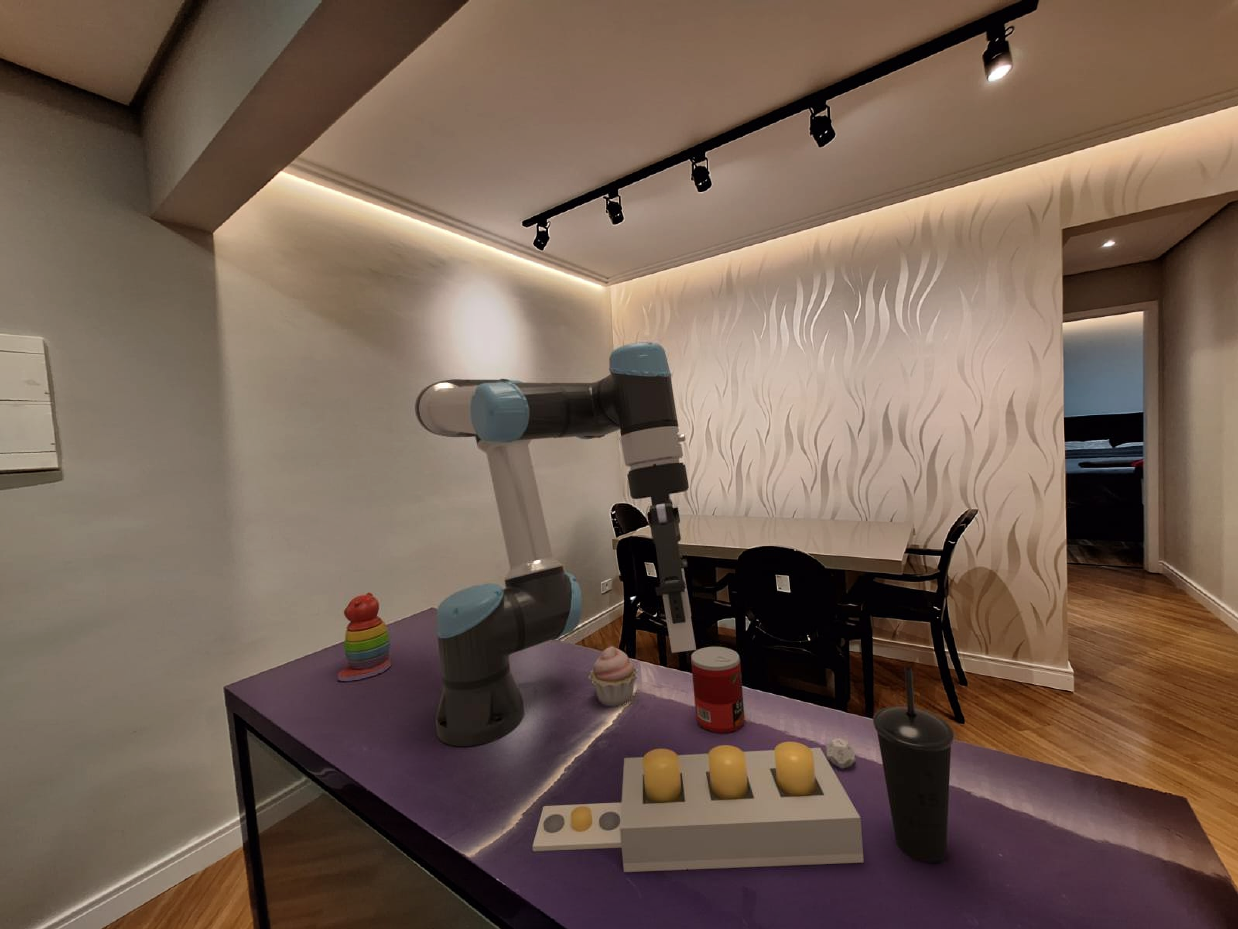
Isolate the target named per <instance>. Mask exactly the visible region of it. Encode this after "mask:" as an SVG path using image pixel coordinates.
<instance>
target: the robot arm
mask: <svg viewBox="0 0 1238 929" xmlns="http://www.w3.org/2000/svg"><path fill="white" fill-rule="evenodd" d="M608 361H609V362H608V363H609V368H608V371H609V373H610V374H608V375H606V376H605V377H603V378H602V379H600V380H597V381H594V382H524V381H521V380H514V379H508V378H500V379H463V378H462V379H461V378H451V379H445V380H441V381H436V382H434V383H431V384H429V385H428V386H425V387H424V388H423V389H422V390H421V391H420V392H419V394H418V395H417V397H416V400H415V403H414V411H415V417H416V419H417V421H418V423H419V424H420V425H421V427H423V429H425V430H426V431H428V432H429V433H431V434H432V435H433V434H434V435H437V436H442V437H448V438H475V442H476V447H477V449H479V451H480V450H481V451H482V452H484V453H485V454H486V458H487V462H488V467H489V473H490V476H491V482H492V486H493V492H494V496H495V502H496V506H497V510H498V516H499V520H500V525H501V530H502V535H503V539H504V544H505V550H506V555H507V558H508V559H507V560H508V564H509V571H508V572H507V574H506V575H505V577H504V579H503V580H504V585H505V588H502V586H501V585H500V584H498V583H494V582H493V583H491V582H490V583H483V584H481V585H480V584H477V585H472V586H469V587H466V588H464V589H460V590H458V591H456V592H453V593H452V594H451V595H449V596H447V597H446V598H445V599H444V600H443V601H441V602H440V604H439V605H438V606H437V609H436V613H435V614H436V617H435V618H436V624H435V626H436V629H435V634H436V636H437V641H438V651H439V652H438V653H439V659H440V660H439V661H440V668H441V669H440V670H441V672H440V673H441V679H442V689H441V694H440V699H439V704H438V708H437V713H436V718H435V726H436V727H435V728H436V735H437V738H438V739H439V740H440V741H441V742H443V743H445V744H447V745H449V746H456V747H471V746H477V745H481V744H485V743H488V742H492V741H495V740H497V739H499V738H501V737H503V736H505V735H507V734H508V733H510V732H511V731H513V730H514V729H515V728H516V727H517V726H518V725H519V724H520V723H521V722H522V720H523V718H524V716H525V706H524V705H525V704H524V699H523V695H522V693H521V691H520V689H519V687H518V685H517V683H516V681H515V678H514V677H513V674H512V671H511V665H510V664H511V663H510V655H511V654H514V653H517V652H521V651H524V650H526V649H529V648H532V647H535V646H537V645H541V644H544V643H547V642H550V641H556V640H558V639H560V638H561V637H563V636H565V635H568V634H570V633H572V632H573V631H574V630H576V628H577V627H578V625H579V623H580V620H581V617H582V613H583V596H582V595H583V594H582V591H581V588H580V585H579V582H578V581H577V578H576V577H575V576H574V574H572V573H569V572H566V571H565V570H564V566H563V563H561V562H560V561H558V560H557V559H555V558H554V557H553V551H552V547H551V543H550V539H549V535H548V528H547V525H546V520H545V516H544V510H543V507H542V503H541V498H540V493H539V489H538V484H537V480H536V475H535V472H534V467H533V462H532V457H531V454H530V448H529V444H530V443H531V441H532V440H540V439H542V440H543V439H557V438H558V439H561V438H573V437H575V438H578V439H581V440H591V439H599V438H603V437H605V436H606V435H607V436H608V435H609V434H611V433H614V432H617V431H619V430H620V433H619V434H620V441H621V448H622V453H623V460H624V465H625V466H626V467H629V468H630V470H629V471H628V473H627V474H626V475H627V482H628V489H629V494H630V498H632V499H633V500H640V499H648V498H650V502H651V505H649V508H648V509H649V510H648V512H646V516H647V522H648V526H649V528H650V532H651V540H652V544H654V545H655V550H656V559H657V565H658V566H657V567H658V574H659V581H660V583H659V586H656V587H654V589H655V594H656V596H662V599H663V600H662V601H663V605H664V606H663V608H664V613H665V620H666V625H667V626H666V627H667V631H668V638H669V643H670V650H671V653H672V654H674V653H680V652H681V653H682V652H688V651H696V650H697V647H696V640H695V634H694V629H693V622H692V618H691V617H692V612H691V611H692V610H691V604H690V599H689V594H688V589H687V581H686V577H685V570H684V569H685V568H688V562H687V559H682V558H683V557H682V554H681V553H680V552H681V551H680V546H679V542H680V541H681V540H682V537H681V536H682V535H681V529H680V522H681V519H680V513H679V512H680V511H679V507H674V506H673V505H674V504H673V501H672V499H671V498H670V495H672V494H673V495H674V494H678V493H679V494H680V493H684V492H687V491H688V490H689V488H690V486H689V485H690V484H689V479H688V473H687V467H686V464H684V462H680V459H682V458H683V457H684V452H683V447H682V443H681V442H685V441H686V440H687V439H686V435H685V434H684V433H679V432H680V430H679V422H678V415H677V409H676V402H675V397H674V390H673V384H672V372H671V370H670V367H669V363H668V357H667V354H666V351H665V349H664V347H663V346H662V345H661V344H659V343H656V342H653V341H639V342H633V343H629V344H624V345H622V346H619V347H617V348H615V349H614V350H613V351H611V353H610V356H609V359H608ZM678 433H679V434H678ZM523 715H524V716H523Z"/></svg>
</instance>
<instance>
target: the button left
mask: <svg viewBox="0 0 1238 929" xmlns="http://www.w3.org/2000/svg"><path fill="white" fill-rule="evenodd" d="M677 755H678V754H677V753H676V752H675V751H673V750H671V749H667V748H655V749H652V750H650V751H648V752H646V753H645V754H644V756H642V757H643V771H644V782H645V793H646V797H647V798H648V800H649V801H651V802H652V803H673V802H676V801H677V800H678V799H679V798H680V796H681V780H680V768H679V758H678V756H677Z"/></svg>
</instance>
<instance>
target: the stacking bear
mask: <svg viewBox="0 0 1238 929" xmlns="http://www.w3.org/2000/svg"><path fill="white" fill-rule="evenodd" d="M379 610H380V603H379V600H378V599H377V598H376V597H375V596H374V594H373V593H371V592H367V593H366V594H361V595H358V596H355V597H354V598H352V599H351V600H350V602H349V603H348V604H347V606H346V608H345V609H344V610H343V615H344V616H345V617H344V618H346V620H348V622H349V623H348V624H347V626H346V631H345V634H344V635H345V636H344V642H343V649H344V654H345V657H346V660H347V664H348V666H347V667H345V668H344V669H342V670H340V671H339V673H338V674H337V675H339V676H341V677H343V676H344V677H345V676H346V677H349V676H350V677H351V676H356V675H361V674H367V673H370V672H372V671H375V670H377V669H380V668H381V667H384V666H385V665H386V664H388V663H389V661H390V660H391V658H390V657H389V652H390V646H391V645H390V644H391V639H390V634H389V630H388V627H387V625H386V622H385V621H384V620H383V619H382V618H381V617H380V616H378V614H379Z"/></svg>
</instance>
